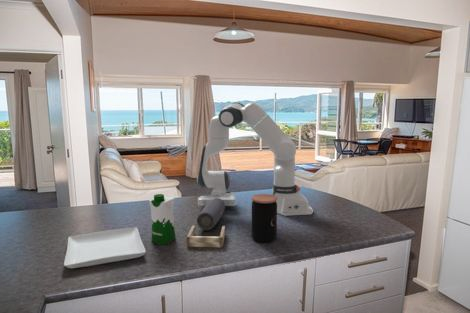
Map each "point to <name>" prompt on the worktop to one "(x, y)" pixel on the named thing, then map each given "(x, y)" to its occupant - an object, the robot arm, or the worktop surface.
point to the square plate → (103, 247)
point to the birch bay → (205, 239)
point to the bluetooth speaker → (211, 214)
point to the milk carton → (162, 219)
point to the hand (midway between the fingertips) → (215, 205)
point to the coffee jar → (264, 218)
